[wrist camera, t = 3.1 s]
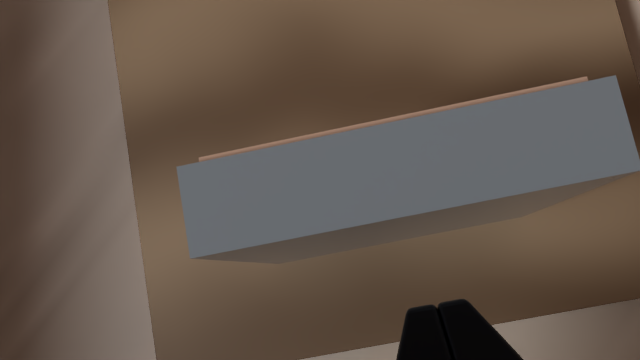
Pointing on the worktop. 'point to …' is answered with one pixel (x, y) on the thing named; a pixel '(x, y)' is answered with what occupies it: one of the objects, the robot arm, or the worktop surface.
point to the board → (346, 110)
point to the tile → (408, 174)
